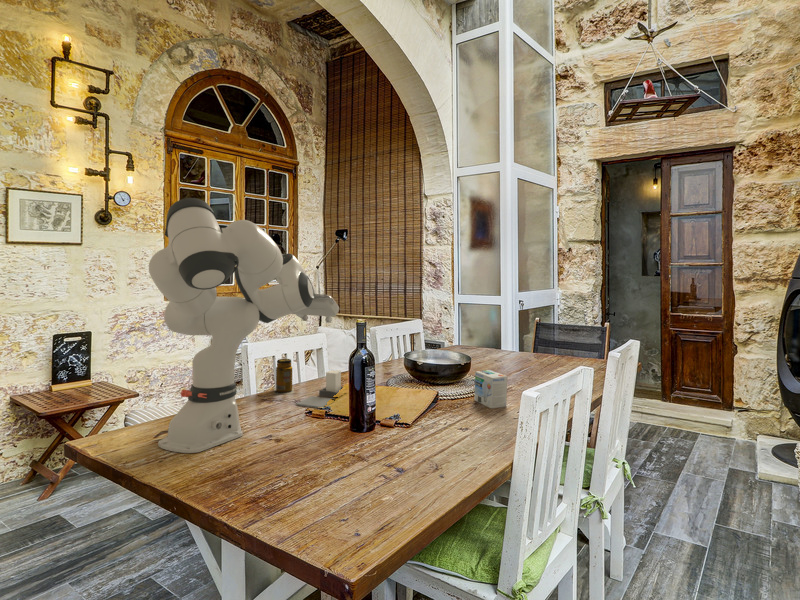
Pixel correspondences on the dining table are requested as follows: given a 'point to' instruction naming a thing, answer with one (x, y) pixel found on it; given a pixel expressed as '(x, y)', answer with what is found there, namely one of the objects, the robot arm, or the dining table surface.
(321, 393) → the collar
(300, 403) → the tile
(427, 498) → the dining table surface
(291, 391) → the condiment
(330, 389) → the post
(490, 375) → the light bulb box
